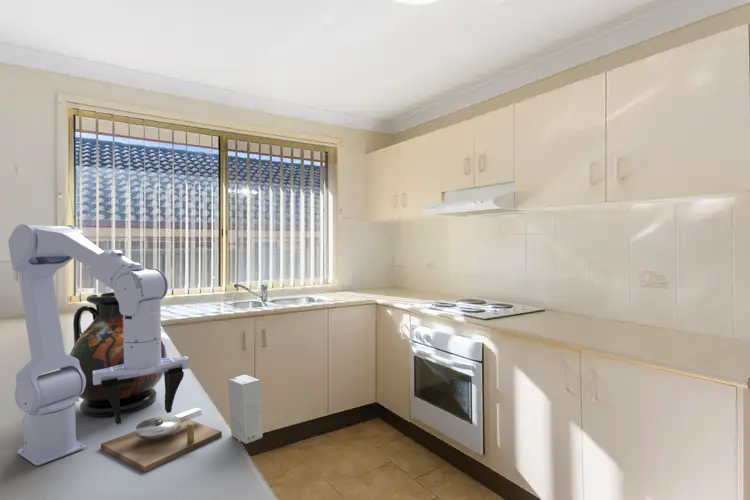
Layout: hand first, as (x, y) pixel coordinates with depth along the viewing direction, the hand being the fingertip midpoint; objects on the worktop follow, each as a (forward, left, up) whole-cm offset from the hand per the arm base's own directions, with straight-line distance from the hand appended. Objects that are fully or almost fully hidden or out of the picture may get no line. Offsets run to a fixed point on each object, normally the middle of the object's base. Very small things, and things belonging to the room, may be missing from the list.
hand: (144, 416), depth 73 cm
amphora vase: (-37, +14, -10) cm, 41 cm away
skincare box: (+4, +19, -10) cm, 22 cm away
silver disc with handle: (-9, +10, -7) cm, 15 cm away
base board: (-8, +8, -10) cm, 16 cm away
